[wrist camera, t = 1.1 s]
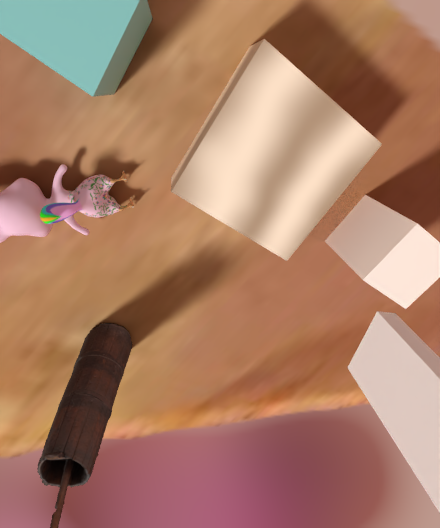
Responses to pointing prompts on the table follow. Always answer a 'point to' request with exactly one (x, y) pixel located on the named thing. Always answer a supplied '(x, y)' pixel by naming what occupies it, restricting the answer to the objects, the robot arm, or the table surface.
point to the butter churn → (84, 411)
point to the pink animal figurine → (54, 204)
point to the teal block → (79, 37)
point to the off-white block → (387, 251)
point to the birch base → (272, 153)
